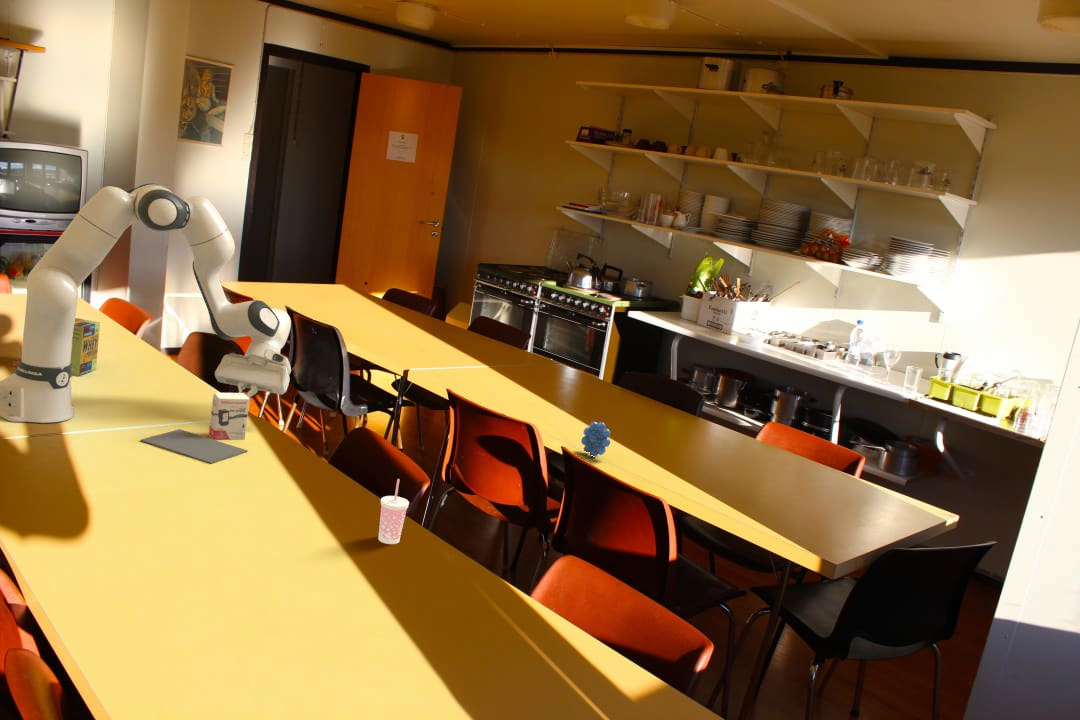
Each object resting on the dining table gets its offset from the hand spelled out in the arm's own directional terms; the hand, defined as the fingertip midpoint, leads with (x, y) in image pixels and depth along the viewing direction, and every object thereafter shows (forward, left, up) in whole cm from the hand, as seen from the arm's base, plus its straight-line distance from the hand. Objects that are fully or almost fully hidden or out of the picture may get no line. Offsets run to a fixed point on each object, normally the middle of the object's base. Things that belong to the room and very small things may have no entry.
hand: (242, 399), depth 248 cm
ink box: (+2, -8, -9) cm, 12 cm away
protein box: (-70, +5, -9) cm, 71 cm away
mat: (+2, -20, -9) cm, 22 cm away
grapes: (+85, +67, -9) cm, 109 cm away
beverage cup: (+68, -36, -9) cm, 78 cm away
